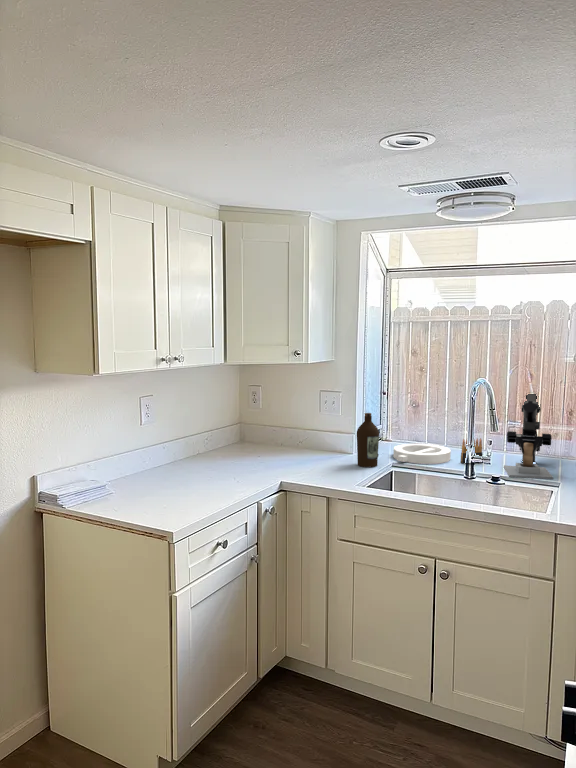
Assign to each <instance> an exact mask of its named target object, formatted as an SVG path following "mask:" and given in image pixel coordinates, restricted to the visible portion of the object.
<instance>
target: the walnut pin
mask: <svg viewBox="0 0 576 768" xmlns="http://www.w3.org/2000/svg"><path fill="white" fill-rule="evenodd" d="M522 456H523V467H533V443H524V453H523V454H522Z"/></svg>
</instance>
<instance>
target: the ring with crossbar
mask: <svg viewBox="0 0 576 768" xmlns="http://www.w3.org/2000/svg"><path fill="white" fill-rule="evenodd" d="M451 451H452V450H451V449H450V448H449V447H446V446H443V445H440V444H439V445H438V444H432V443H431V444H430V443H404V444H399V445H395V446H394V447H393V455H392V456H393V459H395V460H397V461H398V462H402V463H410V464H418V465H436V464H445V463H448V462H450V461H451V454H452V452H451Z"/></svg>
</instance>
